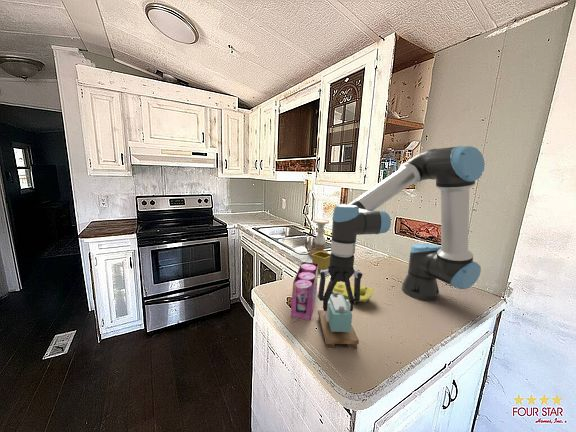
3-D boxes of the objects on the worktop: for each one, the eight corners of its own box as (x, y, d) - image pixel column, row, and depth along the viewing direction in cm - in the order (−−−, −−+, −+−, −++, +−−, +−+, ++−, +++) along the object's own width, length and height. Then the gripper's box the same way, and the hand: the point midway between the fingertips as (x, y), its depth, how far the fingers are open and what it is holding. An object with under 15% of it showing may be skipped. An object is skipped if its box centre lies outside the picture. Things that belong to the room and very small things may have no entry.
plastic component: (324, 289, 105) (334, 273, 112) (328, 300, 109) (337, 284, 115) (368, 302, 93) (376, 284, 99) (371, 314, 96) (378, 296, 103)
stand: (344, 318, 88) (345, 310, 88) (358, 349, 73) (358, 340, 72) (317, 317, 88) (318, 310, 88) (325, 348, 72) (326, 340, 72)
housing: (350, 332, 74) (352, 310, 73) (331, 331, 74) (333, 310, 72) (341, 309, 86) (342, 291, 84) (324, 309, 86) (326, 290, 84)
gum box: (311, 323, 85) (313, 288, 82) (289, 319, 86) (290, 285, 84) (317, 291, 108) (318, 263, 105) (299, 289, 109) (301, 261, 107)
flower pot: (332, 269, 133) (333, 254, 131) (323, 274, 127) (324, 258, 125) (319, 265, 139) (320, 250, 137) (310, 269, 132) (311, 254, 131)
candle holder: (314, 260, 147) (316, 222, 142) (308, 254, 157) (309, 219, 153) (330, 259, 150) (333, 222, 146) (323, 253, 160) (325, 218, 156)
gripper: (367, 250, 80) (361, 313, 84) (311, 248, 79) (307, 312, 83) (376, 258, 72) (368, 326, 76) (314, 256, 71) (310, 325, 75)
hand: (336, 319), depth 80 cm, fingers closed on housing, 6 cm apart
